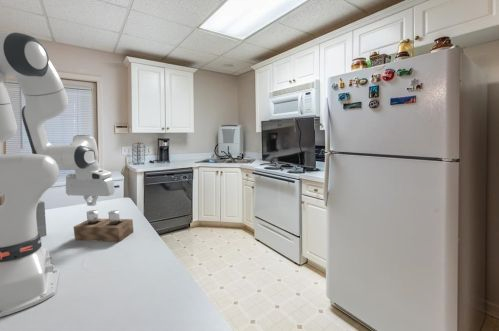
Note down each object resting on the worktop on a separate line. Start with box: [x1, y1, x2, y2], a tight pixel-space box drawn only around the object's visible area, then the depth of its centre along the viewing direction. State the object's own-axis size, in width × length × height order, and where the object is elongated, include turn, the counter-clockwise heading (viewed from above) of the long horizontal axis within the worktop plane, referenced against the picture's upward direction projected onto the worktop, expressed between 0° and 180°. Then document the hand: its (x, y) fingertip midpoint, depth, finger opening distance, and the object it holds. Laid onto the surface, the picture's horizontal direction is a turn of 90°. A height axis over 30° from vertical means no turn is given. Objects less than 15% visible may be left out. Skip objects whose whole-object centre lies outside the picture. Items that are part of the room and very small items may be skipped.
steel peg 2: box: [107, 209, 121, 225], centre depth 108 cm, size 4×4×6 cm
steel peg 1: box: [86, 209, 99, 225], centre depth 109 cm, size 4×4×6 cm
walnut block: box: [73, 218, 134, 243], centre depth 109 cm, size 20×10×6 cm, turn 84°
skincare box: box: [36, 199, 48, 238], centre depth 110 cm, size 8×7×16 cm
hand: (91, 205), depth 109 cm, fingers closed
